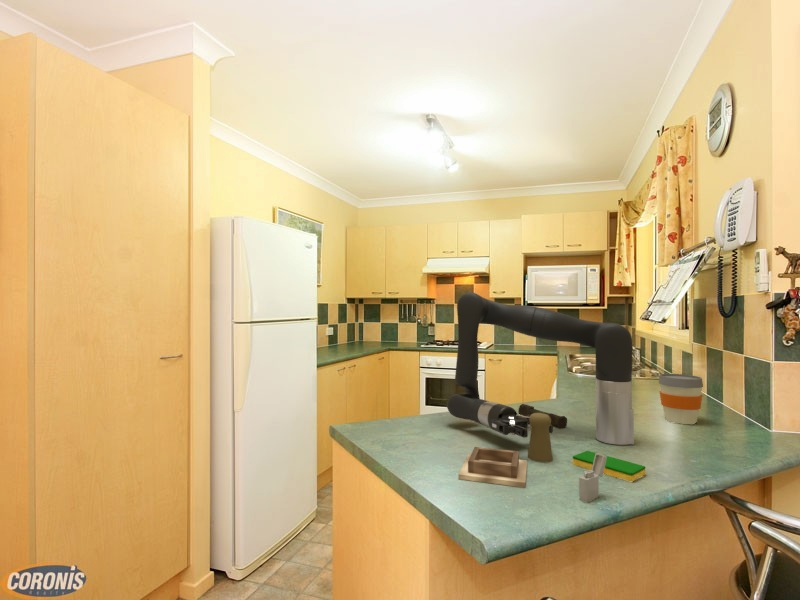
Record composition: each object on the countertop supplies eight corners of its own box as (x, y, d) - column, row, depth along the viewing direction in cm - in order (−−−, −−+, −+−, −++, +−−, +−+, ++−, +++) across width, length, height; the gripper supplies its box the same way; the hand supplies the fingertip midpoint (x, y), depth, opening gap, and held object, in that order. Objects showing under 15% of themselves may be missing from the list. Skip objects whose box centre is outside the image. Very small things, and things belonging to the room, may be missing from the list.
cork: (526, 460, 106) (526, 415, 106) (528, 452, 111) (528, 410, 112) (552, 463, 103) (552, 417, 104) (553, 455, 109) (553, 412, 109)
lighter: (587, 502, 83) (586, 460, 83) (578, 499, 84) (578, 458, 84) (607, 493, 87) (607, 453, 87) (599, 490, 88) (599, 451, 88)
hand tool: (568, 428, 135) (568, 413, 136) (559, 429, 134) (559, 414, 134) (524, 415, 152) (524, 402, 152) (516, 416, 150) (516, 403, 150)
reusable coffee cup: (712, 426, 138) (712, 379, 138) (673, 426, 138) (673, 379, 138) (687, 416, 150) (686, 373, 150) (651, 416, 150) (650, 373, 151)
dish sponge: (631, 484, 92) (631, 473, 92) (572, 466, 103) (571, 455, 103) (646, 476, 97) (646, 466, 97) (587, 459, 108) (587, 450, 108)
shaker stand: (527, 464, 103) (527, 449, 103) (525, 487, 89) (525, 470, 89) (468, 458, 107) (468, 443, 107) (458, 479, 94) (458, 462, 94)
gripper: (477, 406, 119) (517, 419, 105) (516, 401, 126) (559, 413, 111) (477, 433, 119) (517, 450, 104) (516, 427, 125) (560, 442, 111)
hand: (539, 431), depth 108 cm, fingers open, 8 cm apart
